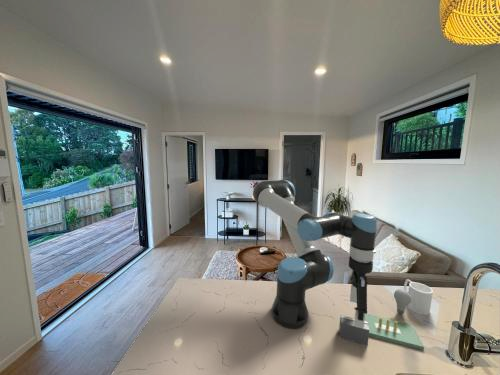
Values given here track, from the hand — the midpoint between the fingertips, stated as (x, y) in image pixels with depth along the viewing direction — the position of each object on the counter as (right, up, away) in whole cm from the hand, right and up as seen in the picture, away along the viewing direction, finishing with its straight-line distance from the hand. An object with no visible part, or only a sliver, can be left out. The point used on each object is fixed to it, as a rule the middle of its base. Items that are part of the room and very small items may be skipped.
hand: (356, 313), depth 78 cm
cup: (+37, -8, +20) cm, 43 cm away
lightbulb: (+26, -9, +15) cm, 31 cm away
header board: (+14, -10, +5) cm, 18 cm away
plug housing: (0, -10, +2) cm, 10 cm away
